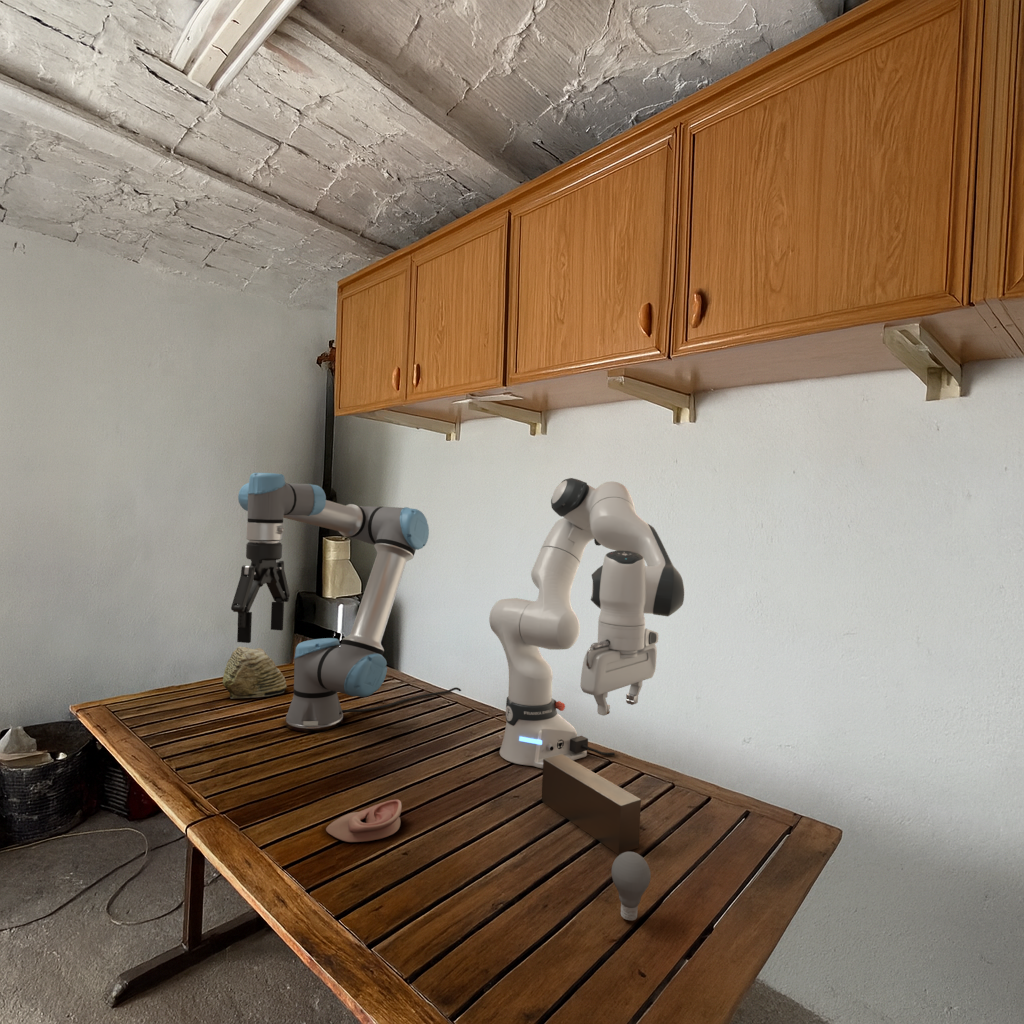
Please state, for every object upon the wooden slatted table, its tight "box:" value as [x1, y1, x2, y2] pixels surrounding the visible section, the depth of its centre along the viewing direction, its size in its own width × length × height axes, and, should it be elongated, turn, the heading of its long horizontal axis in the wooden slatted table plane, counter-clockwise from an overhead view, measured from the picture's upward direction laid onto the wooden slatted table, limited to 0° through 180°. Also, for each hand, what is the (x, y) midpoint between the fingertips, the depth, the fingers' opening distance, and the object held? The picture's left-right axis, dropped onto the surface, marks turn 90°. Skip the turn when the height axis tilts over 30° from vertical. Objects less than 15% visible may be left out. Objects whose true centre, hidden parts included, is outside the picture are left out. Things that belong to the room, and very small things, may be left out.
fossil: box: [222, 646, 288, 699], centre depth 198 cm, size 9×18×15 cm, turn 132°
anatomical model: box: [325, 799, 403, 843], centre depth 122 cm, size 13×4×12 cm
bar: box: [540, 754, 642, 856], centre depth 128 cm, size 24×5×9 cm, turn 34°
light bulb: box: [611, 851, 652, 921], centre depth 99 cm, size 6×6×10 cm
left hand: (261, 635), depth 143 cm, fingers open, 13 cm apart
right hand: (618, 708), depth 121 cm, fingers open, 8 cm apart
